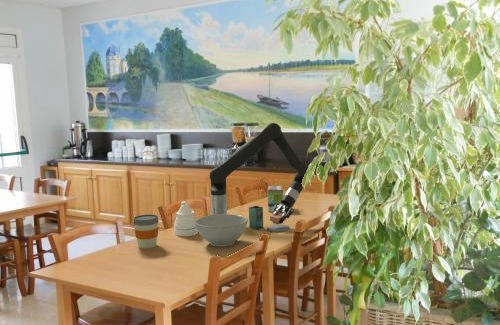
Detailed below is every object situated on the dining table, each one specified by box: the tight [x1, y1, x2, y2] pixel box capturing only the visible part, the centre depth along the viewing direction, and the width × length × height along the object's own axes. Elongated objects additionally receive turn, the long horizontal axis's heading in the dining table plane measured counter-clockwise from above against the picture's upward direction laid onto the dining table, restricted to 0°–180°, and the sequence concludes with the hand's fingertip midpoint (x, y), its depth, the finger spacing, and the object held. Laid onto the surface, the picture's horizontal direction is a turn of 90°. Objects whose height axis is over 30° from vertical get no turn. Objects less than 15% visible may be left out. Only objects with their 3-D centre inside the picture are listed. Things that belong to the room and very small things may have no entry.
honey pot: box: [173, 201, 199, 237], centre depth 274 cm, size 13×13×18 cm
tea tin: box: [248, 205, 264, 230], centre depth 281 cm, size 6×6×12 cm
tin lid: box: [269, 214, 287, 225], centre depth 277 cm, size 6×6×4 cm
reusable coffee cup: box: [132, 214, 159, 249], centre depth 251 cm, size 13×13×15 cm
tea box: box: [267, 185, 284, 213], centre depth 326 cm, size 15×10×15 cm, turn 179°
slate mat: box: [266, 224, 291, 233], centre depth 278 cm, size 13×13×1 cm
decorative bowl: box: [195, 213, 249, 248], centre depth 253 cm, size 27×27×12 cm
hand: (275, 221), depth 276 cm, fingers closed on tin lid, 6 cm apart
